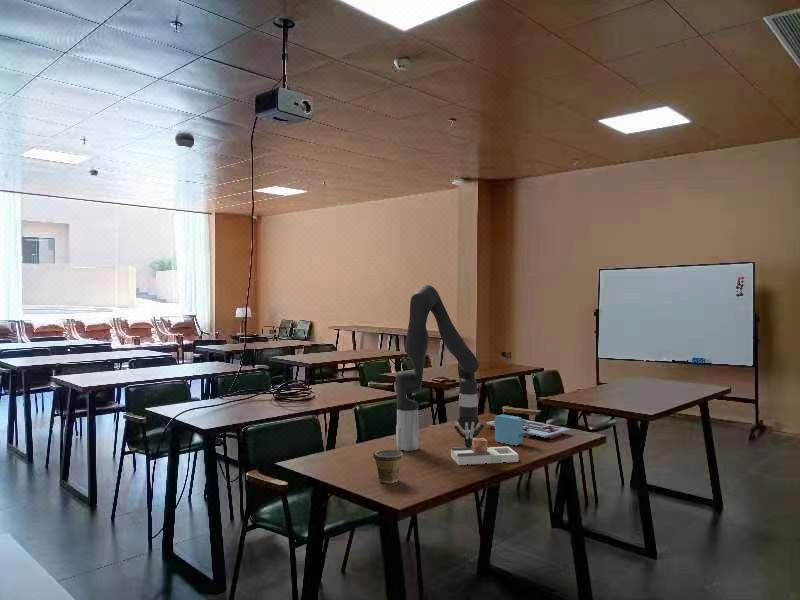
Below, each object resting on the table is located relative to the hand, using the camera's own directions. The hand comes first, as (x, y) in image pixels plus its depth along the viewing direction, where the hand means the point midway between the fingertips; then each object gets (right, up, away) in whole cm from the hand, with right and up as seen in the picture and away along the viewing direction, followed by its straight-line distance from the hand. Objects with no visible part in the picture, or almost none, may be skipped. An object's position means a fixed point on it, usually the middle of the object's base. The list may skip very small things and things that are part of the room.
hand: (468, 447), depth 234 cm
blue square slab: (+21, -5, +26) cm, 34 cm away
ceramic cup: (-33, -6, -24) cm, 41 cm away
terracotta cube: (+5, -2, +1) cm, 5 cm away
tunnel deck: (+6, -5, +1) cm, 8 cm away
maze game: (+34, -5, +48) cm, 59 cm away
